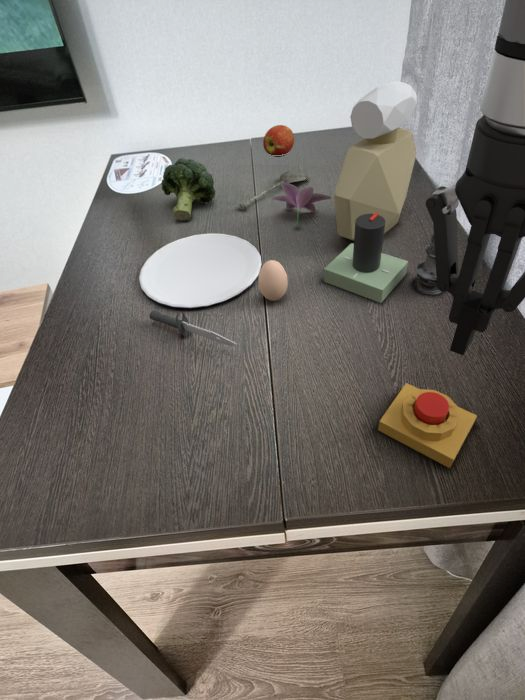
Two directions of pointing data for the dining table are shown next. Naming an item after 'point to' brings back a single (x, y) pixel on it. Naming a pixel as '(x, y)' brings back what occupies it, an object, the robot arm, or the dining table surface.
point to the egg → (273, 280)
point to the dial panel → (365, 275)
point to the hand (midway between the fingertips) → (461, 345)
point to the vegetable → (187, 185)
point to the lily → (299, 198)
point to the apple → (278, 140)
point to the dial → (368, 242)
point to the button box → (427, 427)
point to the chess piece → (427, 273)
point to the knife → (188, 327)
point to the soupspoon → (285, 177)
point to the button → (431, 408)
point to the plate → (200, 270)
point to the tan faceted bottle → (377, 158)
